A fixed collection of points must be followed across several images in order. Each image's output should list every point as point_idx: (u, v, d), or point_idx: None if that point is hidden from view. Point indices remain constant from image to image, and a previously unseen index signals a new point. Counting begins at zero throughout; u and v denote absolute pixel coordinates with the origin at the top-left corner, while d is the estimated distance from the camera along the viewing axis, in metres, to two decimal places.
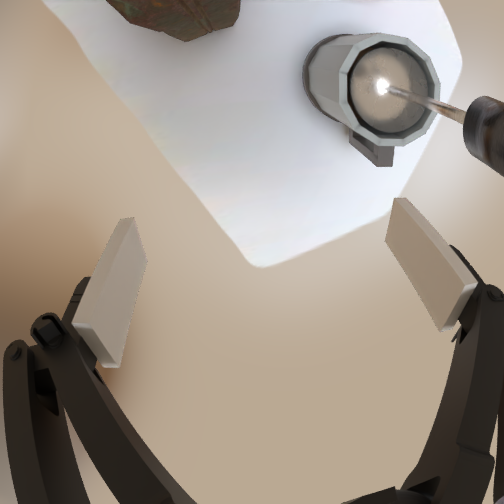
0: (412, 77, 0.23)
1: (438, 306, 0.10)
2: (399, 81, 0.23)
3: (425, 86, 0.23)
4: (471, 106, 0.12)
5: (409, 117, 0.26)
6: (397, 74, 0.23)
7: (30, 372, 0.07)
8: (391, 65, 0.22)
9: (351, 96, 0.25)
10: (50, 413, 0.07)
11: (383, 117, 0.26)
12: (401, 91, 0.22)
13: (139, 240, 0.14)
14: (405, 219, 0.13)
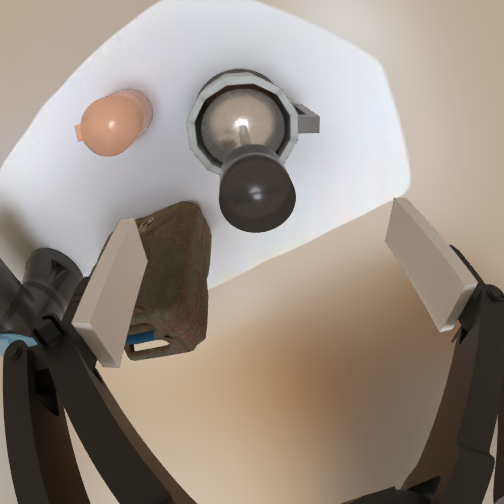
0: (225, 109, 0.29)
1: (438, 306, 0.10)
2: (232, 122, 0.30)
3: (231, 93, 0.28)
4: None
5: (267, 107, 0.30)
6: (226, 125, 0.31)
7: (30, 372, 0.07)
8: (218, 132, 0.31)
9: None
10: (50, 413, 0.07)
11: (270, 135, 0.32)
12: None
13: (139, 240, 0.14)
14: (406, 219, 0.13)
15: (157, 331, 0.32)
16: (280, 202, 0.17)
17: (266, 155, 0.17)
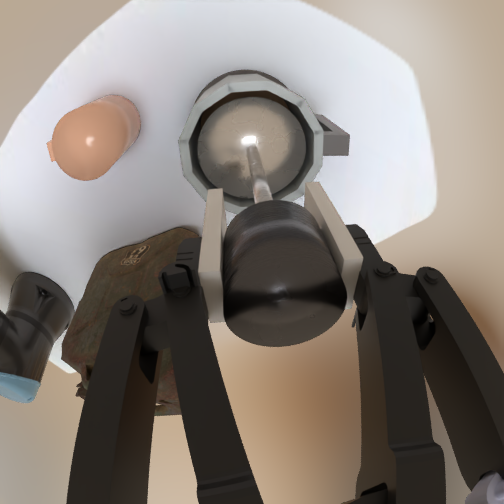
0: (229, 124, 0.23)
1: None
2: (238, 142, 0.24)
3: (237, 103, 0.22)
4: None
5: (284, 122, 0.23)
6: (230, 145, 0.24)
7: (140, 334, 0.08)
8: (219, 154, 0.24)
9: None
10: (145, 380, 0.08)
11: (287, 158, 0.25)
12: None
13: (224, 210, 0.16)
14: (311, 201, 0.14)
15: None
16: (322, 310, 0.10)
17: (301, 229, 0.11)
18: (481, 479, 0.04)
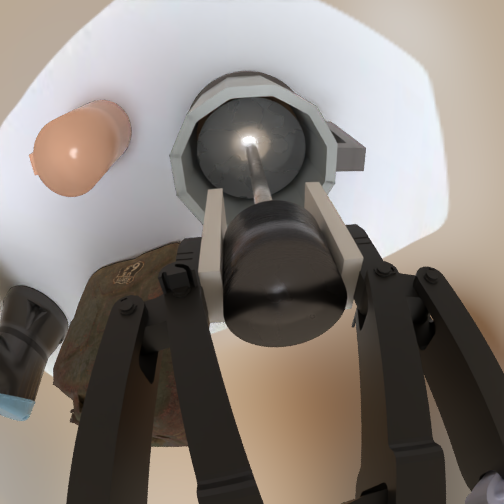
0: (229, 124, 0.23)
1: None
2: (238, 142, 0.24)
3: (237, 103, 0.22)
4: None
5: (284, 122, 0.23)
6: (229, 145, 0.24)
7: (140, 334, 0.08)
8: (219, 154, 0.24)
9: None
10: (145, 380, 0.08)
11: (287, 158, 0.25)
12: None
13: (224, 210, 0.16)
14: (311, 201, 0.14)
15: None
16: (322, 311, 0.10)
17: (301, 229, 0.11)
18: (481, 479, 0.04)
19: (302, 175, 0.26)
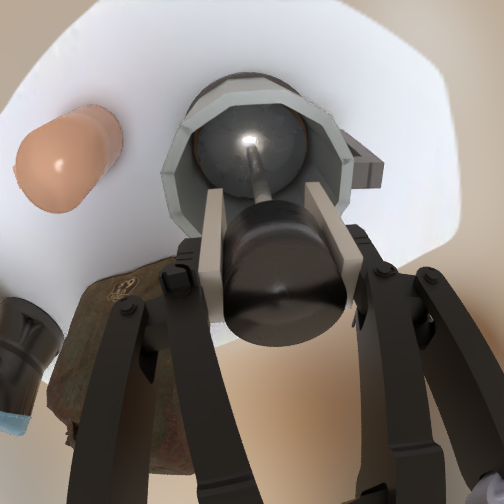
0: (229, 124, 0.23)
1: None
2: (238, 142, 0.24)
3: None
4: None
5: (284, 122, 0.23)
6: (230, 145, 0.24)
7: (140, 334, 0.08)
8: (219, 154, 0.24)
9: None
10: (145, 380, 0.08)
11: (287, 158, 0.25)
12: None
13: (224, 210, 0.16)
14: (311, 201, 0.14)
15: None
16: (322, 311, 0.10)
17: (301, 229, 0.11)
18: (481, 479, 0.04)
19: None
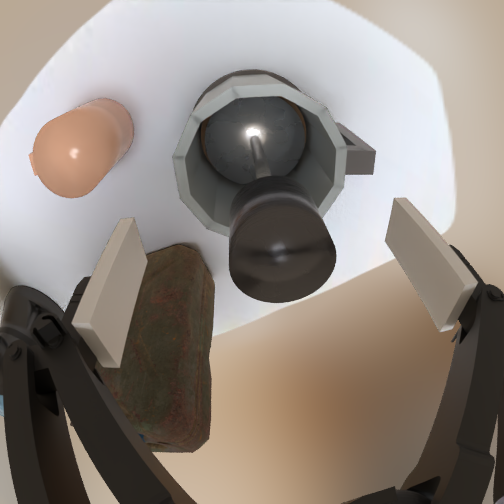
0: (234, 116, 0.24)
1: (438, 306, 0.10)
2: (242, 133, 0.25)
3: None
4: None
5: (285, 115, 0.25)
6: (235, 136, 0.26)
7: (30, 372, 0.07)
8: (225, 144, 0.26)
9: None
10: (50, 413, 0.07)
11: (287, 148, 0.27)
12: None
13: (139, 240, 0.14)
14: (405, 219, 0.13)
15: (148, 437, 0.22)
16: (315, 267, 0.12)
17: (296, 196, 0.12)
18: None
19: (309, 177, 0.25)
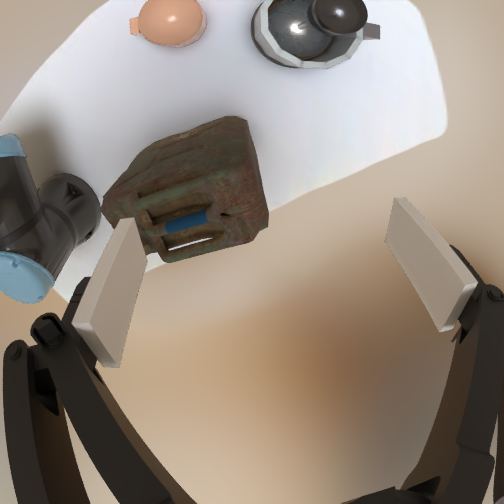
0: (287, 11, 0.30)
1: (438, 306, 0.10)
2: (292, 21, 0.31)
3: (293, 0, 0.29)
4: (317, 30, 0.21)
5: None
6: (287, 22, 0.31)
7: (30, 372, 0.07)
8: (280, 26, 0.31)
9: None
10: (50, 413, 0.07)
11: (322, 34, 0.32)
12: (302, 28, 0.29)
13: (139, 240, 0.14)
14: (405, 219, 0.13)
15: (213, 206, 0.27)
16: (358, 15, 0.17)
17: None
18: None
19: (338, 46, 0.31)
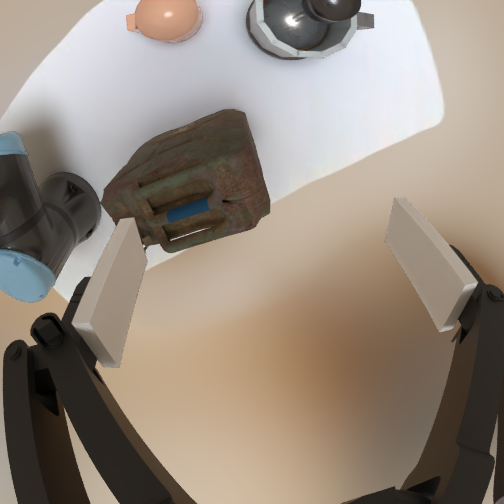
0: (282, 3, 0.29)
1: (438, 306, 0.10)
2: (287, 13, 0.30)
3: None
4: (312, 18, 0.21)
5: None
6: (282, 15, 0.31)
7: (30, 372, 0.07)
8: (275, 19, 0.31)
9: None
10: (50, 413, 0.07)
11: (316, 26, 0.32)
12: (297, 19, 0.29)
13: (139, 240, 0.14)
14: (405, 219, 0.13)
15: (214, 193, 0.26)
16: (351, 2, 0.17)
17: None
18: None
19: (333, 36, 0.30)
